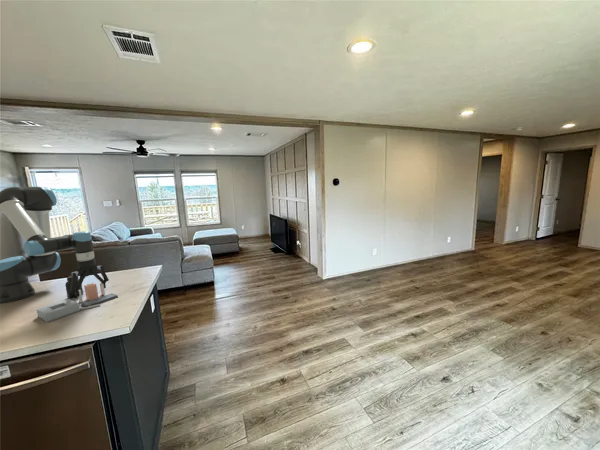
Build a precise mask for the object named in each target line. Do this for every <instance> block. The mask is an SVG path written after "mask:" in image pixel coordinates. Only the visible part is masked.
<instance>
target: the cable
mask: <svg viewBox="0 0 600 450" xmlns="http://www.w3.org/2000/svg"><path fill="white" fill-rule="evenodd" d="M101 304H102V303H100V304H97V305H93V306H88V307H84V306H83V307H80V311H83V310H88V309H93V308H97V307H100V306H101Z"/></svg>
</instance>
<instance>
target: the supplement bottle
mask: <svg viewBox="0 0 600 450" xmlns="http://www.w3.org/2000/svg"><path fill="white" fill-rule="evenodd" d="M71 278H72V276H71V275H69V276H67V277H66V283H65V285H64V286H65V290H66V297H67V299H70V300H72V299H75V298H76V299H78V297H76V295H75V291H70V284H71ZM78 280H79V275H77V278H76V284H77V282H78ZM76 284H75V287H76ZM83 289H84V288H83V283H82V284H81V287H80V289H79V290H81V294H82V296H83V295H84V291H83Z"/></svg>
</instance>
